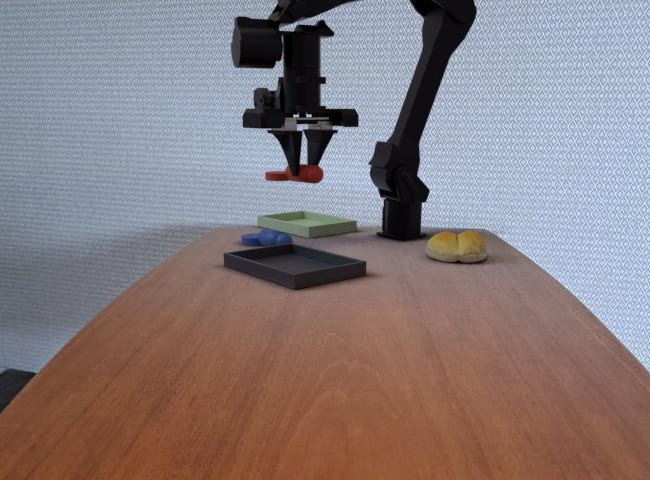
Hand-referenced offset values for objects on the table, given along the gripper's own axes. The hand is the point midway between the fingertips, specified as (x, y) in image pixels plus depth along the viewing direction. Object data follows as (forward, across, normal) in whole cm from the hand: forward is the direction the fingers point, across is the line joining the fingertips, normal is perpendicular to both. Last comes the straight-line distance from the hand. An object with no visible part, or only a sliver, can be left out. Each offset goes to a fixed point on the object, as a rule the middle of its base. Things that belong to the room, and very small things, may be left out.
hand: (303, 175), depth 108 cm
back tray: (+11, -9, -12) cm, 18 cm away
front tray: (+11, +13, +15) cm, 22 cm away
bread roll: (+11, -12, +23) cm, 28 cm away
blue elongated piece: (+11, +6, -2) cm, 13 cm away
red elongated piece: (+1, 0, -2) cm, 3 cm away
